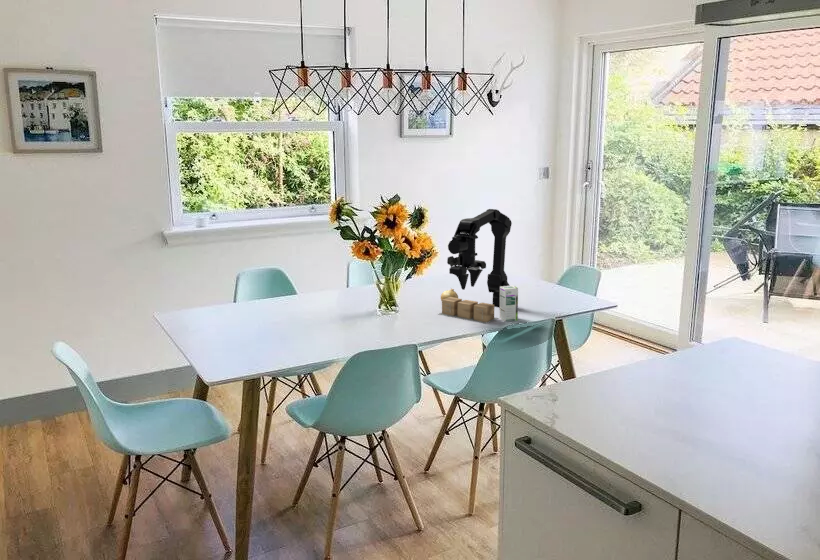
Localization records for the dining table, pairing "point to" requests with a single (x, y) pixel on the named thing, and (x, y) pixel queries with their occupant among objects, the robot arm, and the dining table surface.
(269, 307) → the dining table surface
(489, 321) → the mat
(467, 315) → the block plain
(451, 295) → the onion
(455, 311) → the tan cube
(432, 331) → the dining table surface
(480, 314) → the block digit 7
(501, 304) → the syrup box
